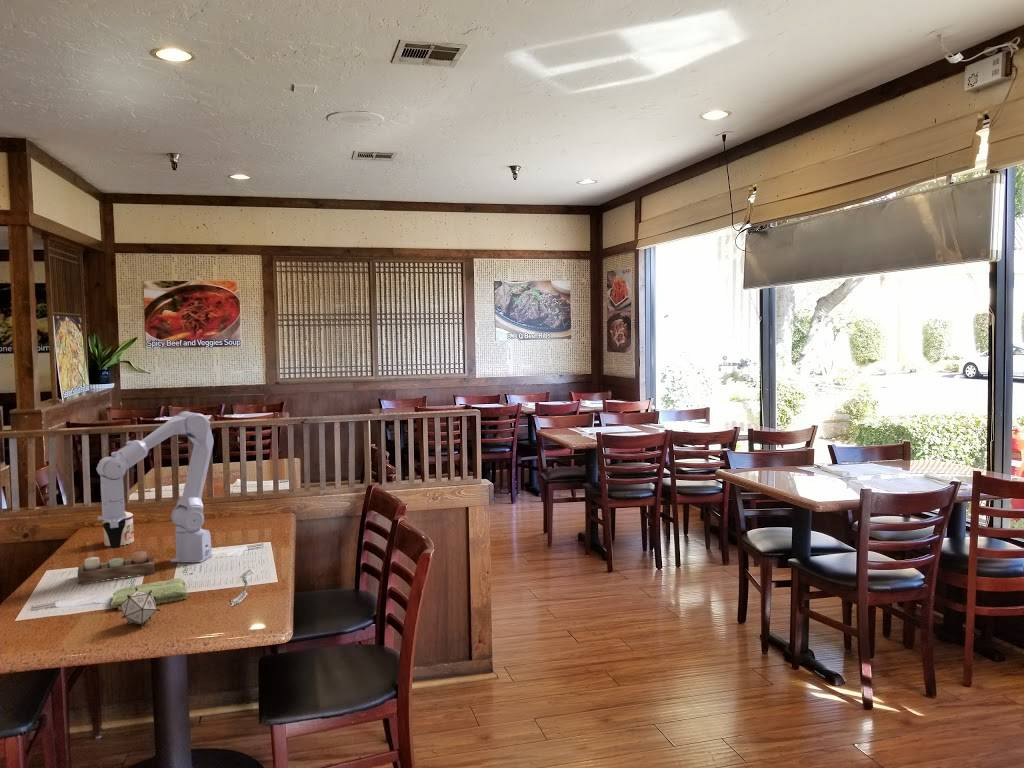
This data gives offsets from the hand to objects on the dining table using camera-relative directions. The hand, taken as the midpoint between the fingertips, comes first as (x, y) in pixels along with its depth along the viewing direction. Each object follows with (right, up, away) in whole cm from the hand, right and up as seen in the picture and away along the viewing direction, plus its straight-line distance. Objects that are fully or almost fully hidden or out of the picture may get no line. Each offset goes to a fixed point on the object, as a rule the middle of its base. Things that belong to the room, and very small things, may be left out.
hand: (115, 547), depth 222 cm
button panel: (0, -8, +1) cm, 8 cm away
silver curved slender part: (+39, -9, -11) cm, 42 cm away
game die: (+24, -11, -37) cm, 45 cm away
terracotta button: (+5, -5, +3) cm, 8 cm away
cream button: (-5, -5, -2) cm, 8 cm away
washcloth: (+18, -10, -19) cm, 28 cm away
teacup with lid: (-16, -6, +35) cm, 39 cm away
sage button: (0, -6, 0) cm, 6 cm away
